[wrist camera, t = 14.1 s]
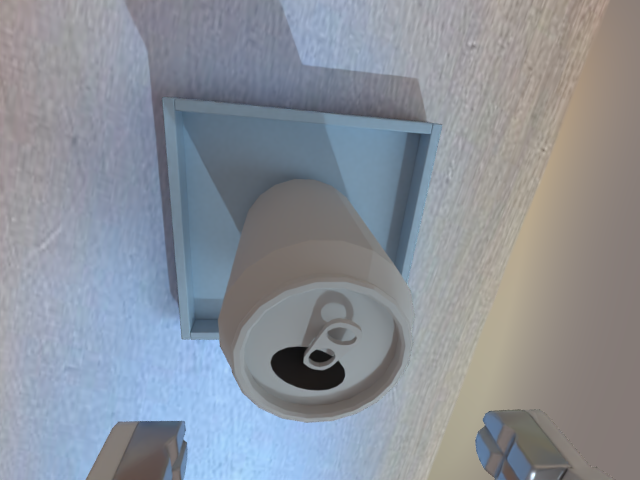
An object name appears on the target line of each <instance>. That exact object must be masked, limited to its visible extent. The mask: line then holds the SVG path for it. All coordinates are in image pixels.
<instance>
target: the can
mask: <svg viewBox="0 0 640 480" xmlns="http://www.w3.org/2000/svg"><path fill="white" fill-rule="evenodd" d="M414 317H415V313H414V307H413V301H412V295H411V290H410V289H409V287H408V285H407V284H406V282H405V281H404V279H403V277H402V276H401V274H400V273H399V271H398V269H397V268H396V266H395V265H394V264H393V262H392V261H391V259H390V258H389V256H388V255H387V254H386V252H385V251H384V249H383V248H382V247H381V245H380V244H379V242H378V241H377V240H376V238H375V237H374V235H373V234H372V233H371V231H370V230H369V228H368V227H367V225H366V224H365V223H364V221H363V220H362V218H361V217H360V216H359V214H358V213H357V211H356V210H355V209H354V207H353V206H352V204H351V203H350V202H349V200H348V199H347V197H345V196H344V195H343V194H342V193H340V192H339V191H338V190H337V189H335V188H334V187H333V186H331V185H328V184H325V183H323V182H320V181H317V180H313V179H293V180H289V181H286V182H282V183H279V184H276V185H274V186H273V187H271V188H270V189H268V190H267V191H265V192H264V193H262V194H261V195H260V196H259V197H258V198H257V200H256V201H255V202H254V204H253V205H252V206H251V208H250V209H249V210H248V213H247V217H246V220H245V223H244V226H243V229H242V233H241V237H240V240H239V244H238V248H237V251H236V255H235V259H234V263H233V266H232V270H231V274H230V277H229V281H228V285H227V288H226V292H225V296H224V299H223V303H222V307H221V311H220V314H219V318H218V327H219V340H220V347H221V349H222V351H223V353H224V355H225V357H226V359H227V361H228V363H229V365H230V367H231V369H232V373H233V375H234V377H235V379H236V381H237V383H238V385H239V387H240V389H241V391H242V393H243V394H244V395H245V396H247V397H248V398H249V399H250V400H251V401H252V402H253V403H254V404H255V405H257V406H258V407H259V408H260V409H263V410H265V411H267V412H269V413H271V414H274V415H276V416H278V417H280V418H283V419H289V420H295V421H300V422H306V423H308V422H324V421H334V420H337V419H340V418H344V417H347V416H351V415H354V414H357V413H359V412H361V411H362V410H364V409H366V408H368V407H370V406H371V405H373V404H375V403H377V402H378V401H379V400H381V399H382V398H383V397H384V396H385V395H386V394H387V393H388V392H389V391H390V390H391V389H392V388H393V387H394V386H396V385H397V383H398V381H399V380H400V378H401V376H402V375H403V373H404V371H405V370H406V368H407V366H408V365H409V360H410V356H411V351H412V346H413V339H412V333H411V332H412V327H413V322H414Z"/></svg>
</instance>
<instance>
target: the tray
mask: <svg viewBox="0 0 640 480" xmlns="http://www.w3.org/2000/svg"><path fill="white" fill-rule="evenodd" d="M162 105H163V117H164V129H165V142H166V154H167V166H168V178H169V191H170V203H171V215H172V227H173V239H174V252H175V264H176V276H177V288H178V301H179V313H180V325H181V337H182V339H191V340H219V327H218V318H219V314H220V311H221V307H222V303H223V299H224V296H225V292H226V288H227V285H228V281H229V277H230V274H231V270H232V266H233V263H234V259H235V255H236V251H237V248H238V244H239V240H240V237H241V233H242V229H243V226H244V223H245V220H246V217H247V213H248V210H249V209H250V208H251V206H252V205H253V204H254V202H255V201H256V200H257V198H258V197H259V196H260V195H261V194H262V193H264V192H265V191H267V190H268V189H270V188H271V187H273V186H274V185H276V184H279V183H282V182H286V181H289V180H293V179H313V180H317V181H320V182H323V183H325V184H328V185H331V186H333V187H334V188H335V189H337V190H338V191H339V192H340V193H342V194H343V195H344V196H345V197H347V199H348V200H349V202H350V203H351V204H352V206H353V207H354V209H355V210H356V211H357V213H358V214H359V216H360V217H361V218H362V220H363V221H364V223H365V224H366V225H367V227H368V228H369V230H370V231H371V233H372V234H373V235H374V237H375V238H376V240H377V241H378V242H379V244H380V245H381V247H382V248H383V249H384V251H385V252H386V254H387V255H388V256H389V258H390V259H391V261H392V262H393V264H394V265H395V266H396V268H397V269H398V271H399V273H400V274H401V276H402V277H403V279H404V281H405V282H406V284H407V282H408V278H409V273H410V269H411V264H412V260H413V255H414V251H415V246H416V242H417V237H418V233H419V228H420V224H421V219H422V215H423V210H424V206H425V201H426V196H427V192H428V187H429V183H430V178H431V174H432V169H433V165H434V160H435V156H436V151H437V147H438V142H439V138H440V133H441V129H442V124H437V123H430V122H420V121H410V120H400V119H390V118H380V117H369V116H359V115H349V114H339V113H328V112H318V111H308V110H298V109H288V108H277V107H267V106H257V105H247V104H237V103H226V102H216V101H206V100H196V99H185V98H175V97H162Z"/></svg>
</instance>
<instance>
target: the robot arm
mask: <svg viewBox="0 0 640 480" xmlns="http://www.w3.org/2000/svg"><path fill="white" fill-rule="evenodd" d="M483 422H484V424H485V426H484V427H483V428H482V429H481V430H480V431H478V434H477V437H476V440H475V441H476V451H477V454H478V457H479V460H480V462H481V464H482V466H483V468H484V469H485V470H486V471H487V472H488V473H489V474H490V475H492V476H493V477H494V478H495V480H615V479H614V478H613V477H611V476H610V475H608V474H607V473H605V472H604V471H602V470H600V469H599V468H597V467H591V466H590V465H589V464H588V462H587V461H586V460H585V459H584V458H583V456H582V455H581V454H580V453H579V452H578V451H577V449H576V448H575V447H574V446H573V445H572V443H571V442H570V441H569V440H568V439H567V438H566V436H565V435H564V434H563V433H562V432H561V430H560V429H559V428H558V427H557V426H556V425H555V423H554V422H553V421H552V420H551V419H550V418H549V416H548V415H547V414H546V413H545V412H543V411H541V410H501V411H489V412H488V413H486V414H485V416H484V418H483ZM185 431H186V428H185V421H129V422H118V423H117V424H116V425H115V426H114V427H113V428H112V430H111V432H110V434H109V436H108V438H107V440H106V442H105V444H104V445H103V447H102V449H101V451H100V453H99V455H98V457H97V459H96V461H95V463H94V465H93V467H92V469H91V471H90V473H89V474H88V476H87V478H86V480H183V479H184V475H185V469H186V463H187V442H185V441H184V440H183V439H184V435H185Z"/></svg>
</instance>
